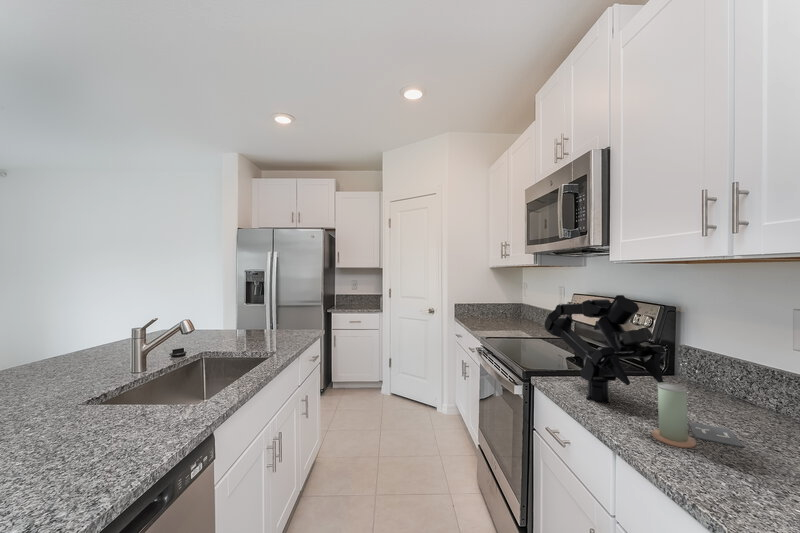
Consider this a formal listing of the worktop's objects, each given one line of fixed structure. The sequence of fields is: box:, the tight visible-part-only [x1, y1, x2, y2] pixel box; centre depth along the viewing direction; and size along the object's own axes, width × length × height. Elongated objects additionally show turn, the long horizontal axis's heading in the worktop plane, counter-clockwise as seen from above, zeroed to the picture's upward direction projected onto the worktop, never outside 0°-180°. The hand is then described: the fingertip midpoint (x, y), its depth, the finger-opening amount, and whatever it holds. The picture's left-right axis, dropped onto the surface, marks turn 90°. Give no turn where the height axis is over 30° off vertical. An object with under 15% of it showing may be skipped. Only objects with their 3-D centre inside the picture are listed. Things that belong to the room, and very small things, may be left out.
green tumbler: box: [657, 381, 689, 442], centre depth 81 cm, size 6×6×12 cm
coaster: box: [652, 428, 697, 449], centre depth 80 cm, size 8×8×1 cm
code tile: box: [688, 421, 743, 448], centre depth 83 cm, size 10×8×1 cm
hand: (645, 383), depth 89 cm, fingers open, 9 cm apart
